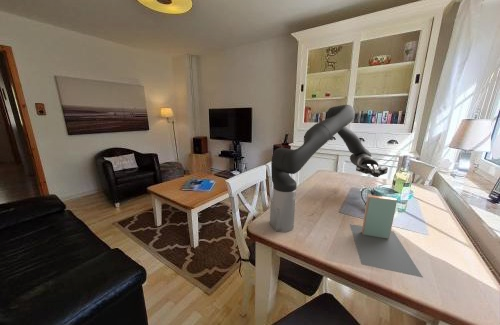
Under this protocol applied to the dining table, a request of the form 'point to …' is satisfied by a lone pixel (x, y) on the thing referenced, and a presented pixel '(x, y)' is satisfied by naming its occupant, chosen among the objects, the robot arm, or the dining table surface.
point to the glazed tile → (379, 216)
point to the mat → (383, 252)
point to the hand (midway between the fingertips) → (376, 174)
